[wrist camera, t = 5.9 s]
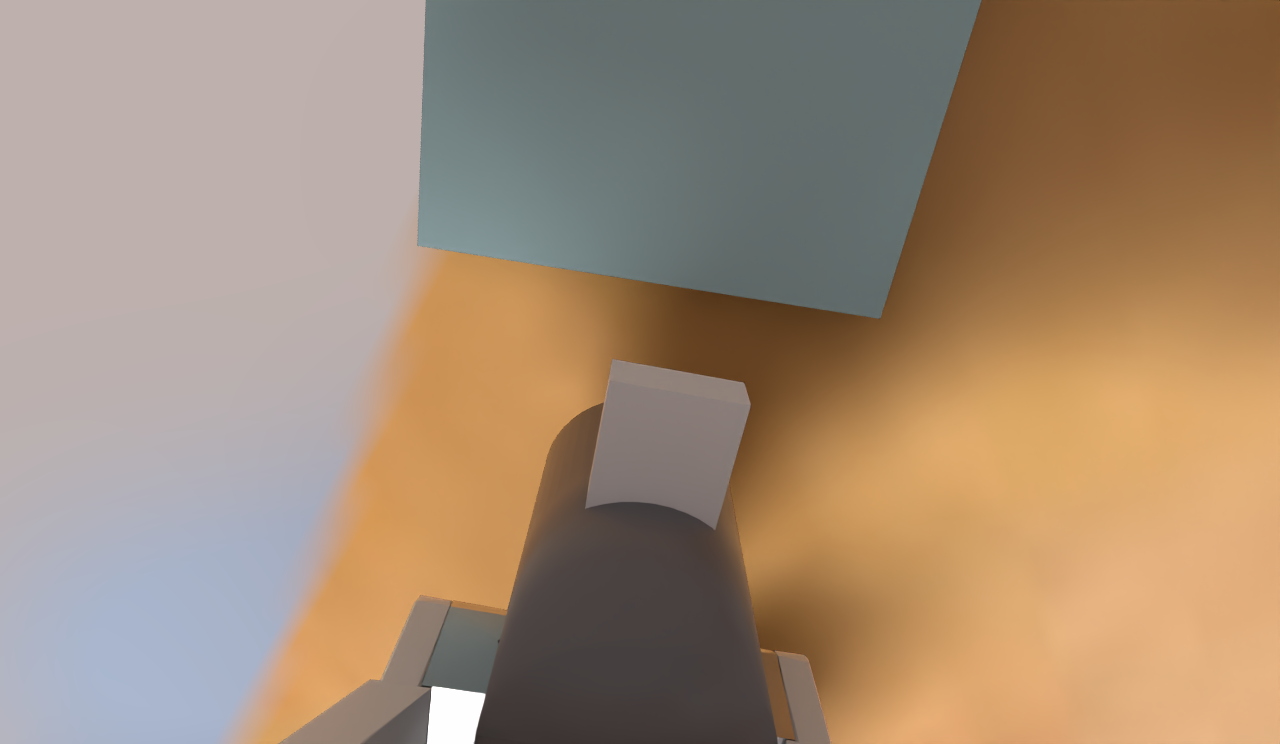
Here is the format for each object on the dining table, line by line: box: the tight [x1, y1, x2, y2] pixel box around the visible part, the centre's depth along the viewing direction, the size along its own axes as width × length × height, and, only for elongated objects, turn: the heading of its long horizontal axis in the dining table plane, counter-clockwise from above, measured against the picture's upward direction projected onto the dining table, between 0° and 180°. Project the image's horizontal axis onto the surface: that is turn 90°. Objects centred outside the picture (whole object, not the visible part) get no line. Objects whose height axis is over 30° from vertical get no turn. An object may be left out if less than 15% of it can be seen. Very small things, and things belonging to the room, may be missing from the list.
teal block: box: [417, 0, 982, 319], centre depth 11 cm, size 8×8×1 cm
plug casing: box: [474, 359, 778, 744], centre depth 10 cm, size 3×9×5 cm, turn 169°
